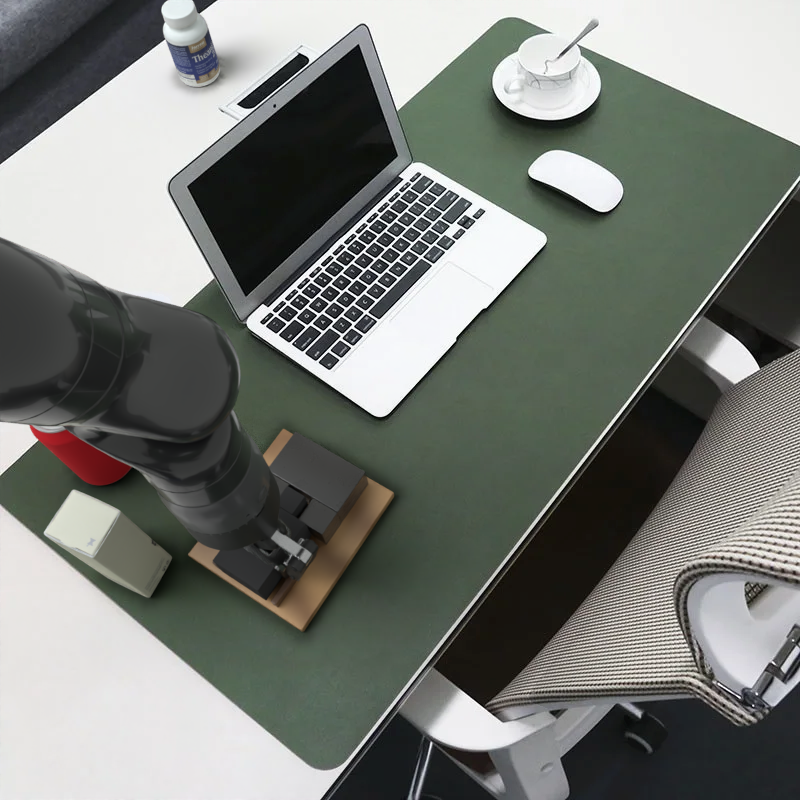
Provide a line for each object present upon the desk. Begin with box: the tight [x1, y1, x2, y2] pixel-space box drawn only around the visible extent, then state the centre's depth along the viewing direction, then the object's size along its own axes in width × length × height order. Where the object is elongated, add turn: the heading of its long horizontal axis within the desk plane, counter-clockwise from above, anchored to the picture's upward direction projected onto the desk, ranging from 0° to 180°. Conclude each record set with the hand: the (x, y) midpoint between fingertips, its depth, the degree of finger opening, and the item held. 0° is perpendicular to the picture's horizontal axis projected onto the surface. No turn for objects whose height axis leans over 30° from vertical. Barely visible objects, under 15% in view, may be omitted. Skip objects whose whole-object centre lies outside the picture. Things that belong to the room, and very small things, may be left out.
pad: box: [213, 486, 312, 600], centre depth 74 cm, size 9×5×4 cm, turn 147°
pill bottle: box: [161, 0, 221, 88], centre depth 103 cm, size 5×5×10 cm
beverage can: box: [28, 425, 132, 486], centre depth 77 cm, size 6×6×12 cm
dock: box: [187, 428, 395, 633], centre depth 77 cm, size 15×13×4 cm
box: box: [43, 489, 173, 599], centre depth 72 cm, size 5×4×13 cm
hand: (265, 551), depth 75 cm, fingers closed on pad, 5 cm apart
